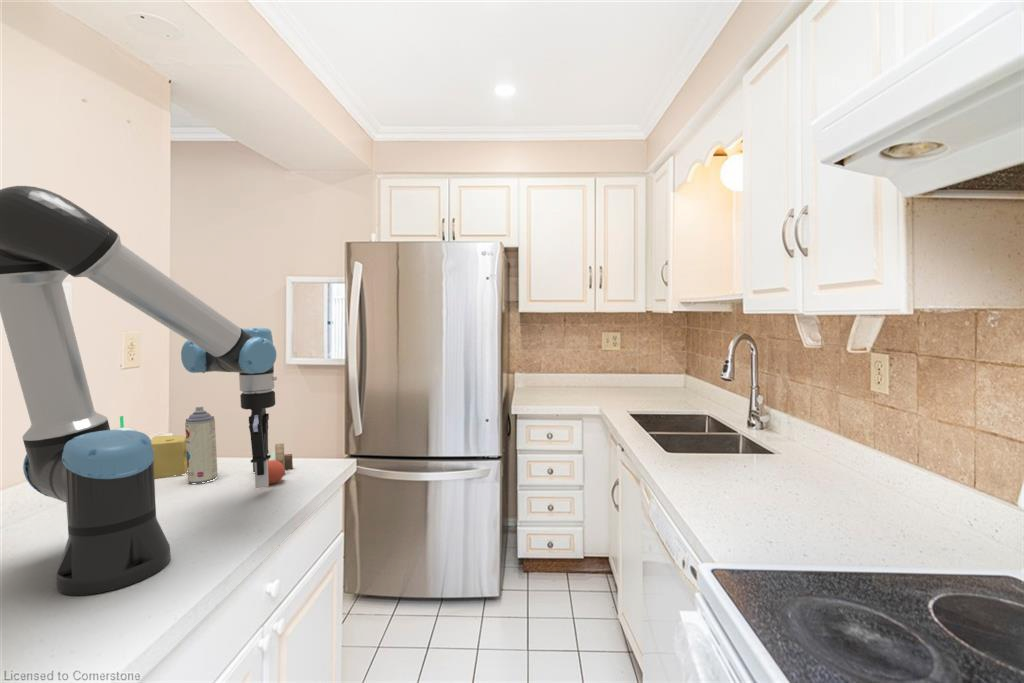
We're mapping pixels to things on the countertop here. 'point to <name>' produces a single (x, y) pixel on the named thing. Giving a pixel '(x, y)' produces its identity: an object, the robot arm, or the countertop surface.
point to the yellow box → (169, 455)
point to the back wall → (287, 462)
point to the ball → (275, 471)
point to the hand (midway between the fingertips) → (262, 486)
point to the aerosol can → (201, 446)
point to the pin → (280, 454)
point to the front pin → (272, 455)
